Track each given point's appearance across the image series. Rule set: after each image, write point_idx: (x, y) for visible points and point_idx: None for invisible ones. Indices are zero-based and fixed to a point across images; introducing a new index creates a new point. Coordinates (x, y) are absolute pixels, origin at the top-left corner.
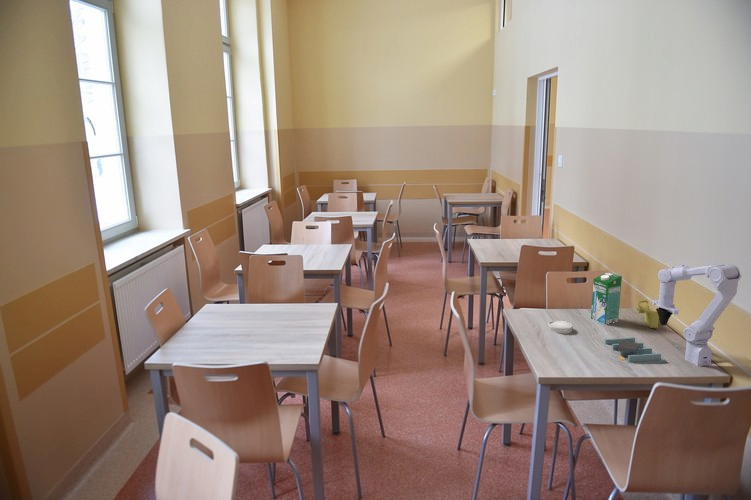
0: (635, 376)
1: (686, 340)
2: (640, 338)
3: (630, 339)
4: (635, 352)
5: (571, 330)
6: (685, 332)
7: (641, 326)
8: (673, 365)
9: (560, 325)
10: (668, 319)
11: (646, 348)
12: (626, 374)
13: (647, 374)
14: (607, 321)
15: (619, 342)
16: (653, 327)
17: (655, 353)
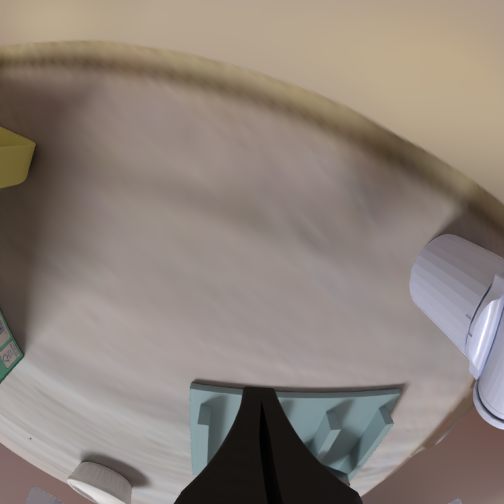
0: (395, 468)
1: (473, 371)
2: (136, 328)
3: (208, 435)
4: (346, 479)
5: (113, 484)
6: (492, 414)
7: (5, 202)
8: (423, 379)
9: (107, 501)
10: (293, 430)
11: (328, 442)
12: (377, 477)
13: (406, 450)
14: (6, 359)
15: (208, 452)
16: (29, 166)
17: (338, 398)
